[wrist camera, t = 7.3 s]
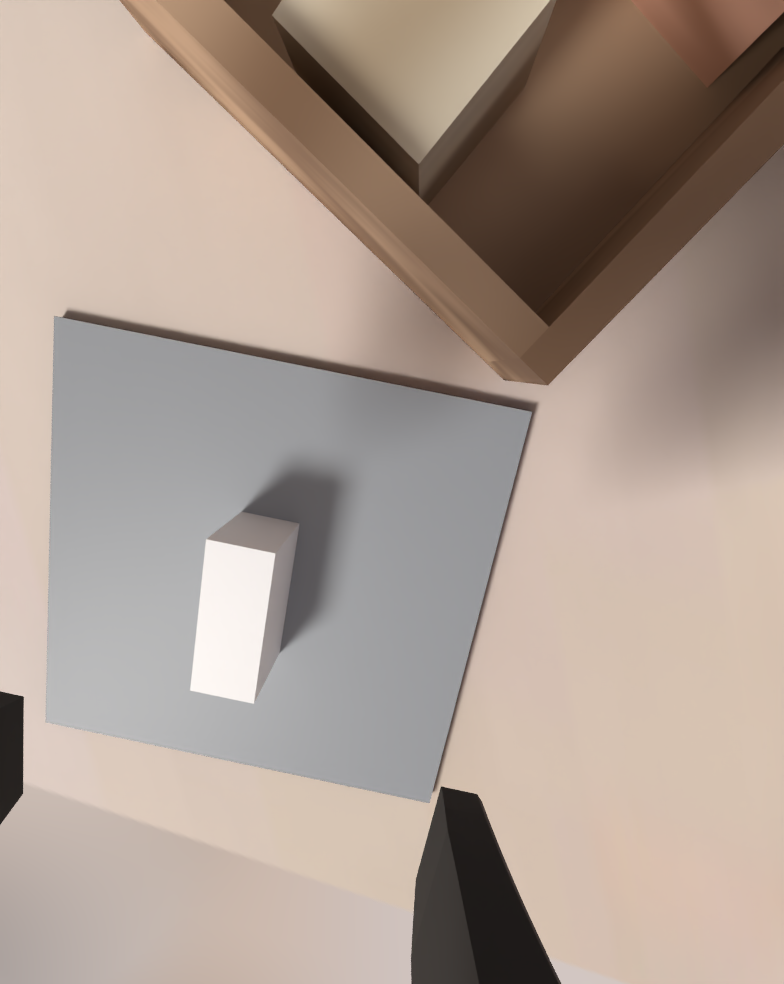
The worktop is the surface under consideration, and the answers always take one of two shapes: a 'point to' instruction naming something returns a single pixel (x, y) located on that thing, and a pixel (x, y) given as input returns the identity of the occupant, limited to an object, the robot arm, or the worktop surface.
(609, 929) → the worktop surface
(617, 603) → the worktop surface
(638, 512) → the worktop surface
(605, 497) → the worktop surface
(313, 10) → the cream block
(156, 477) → the lid
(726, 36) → the terracotta block
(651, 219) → the storage box
